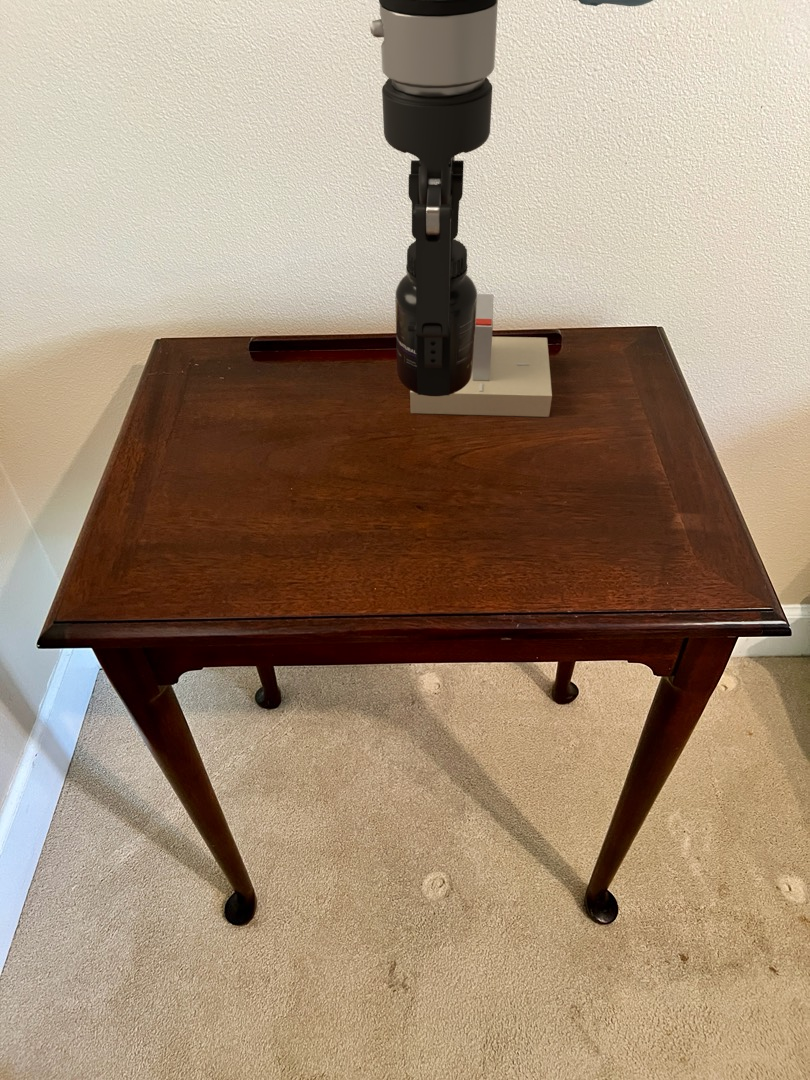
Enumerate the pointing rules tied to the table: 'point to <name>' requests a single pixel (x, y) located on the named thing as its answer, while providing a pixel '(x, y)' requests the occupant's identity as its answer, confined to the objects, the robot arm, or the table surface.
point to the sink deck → (501, 384)
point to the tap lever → (483, 337)
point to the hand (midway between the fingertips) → (435, 366)
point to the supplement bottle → (459, 315)
